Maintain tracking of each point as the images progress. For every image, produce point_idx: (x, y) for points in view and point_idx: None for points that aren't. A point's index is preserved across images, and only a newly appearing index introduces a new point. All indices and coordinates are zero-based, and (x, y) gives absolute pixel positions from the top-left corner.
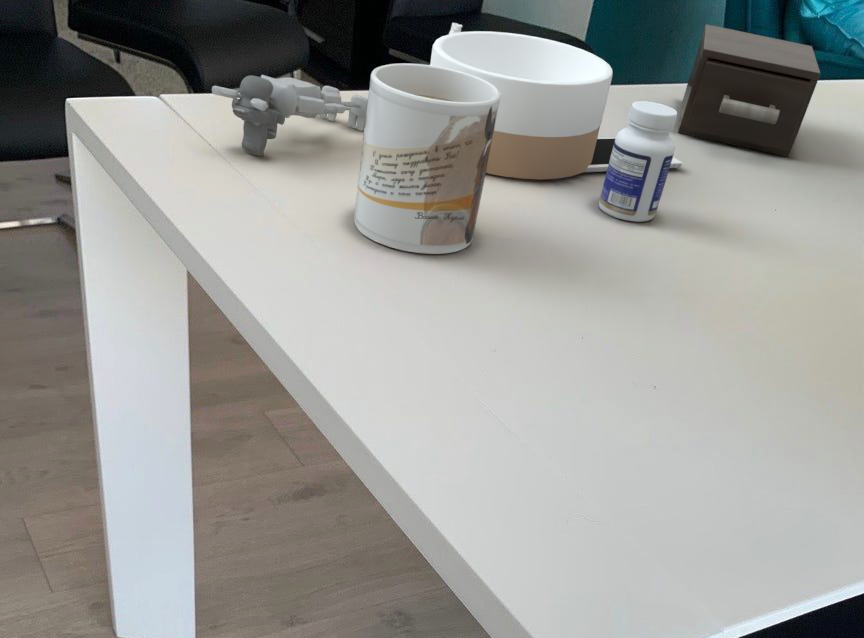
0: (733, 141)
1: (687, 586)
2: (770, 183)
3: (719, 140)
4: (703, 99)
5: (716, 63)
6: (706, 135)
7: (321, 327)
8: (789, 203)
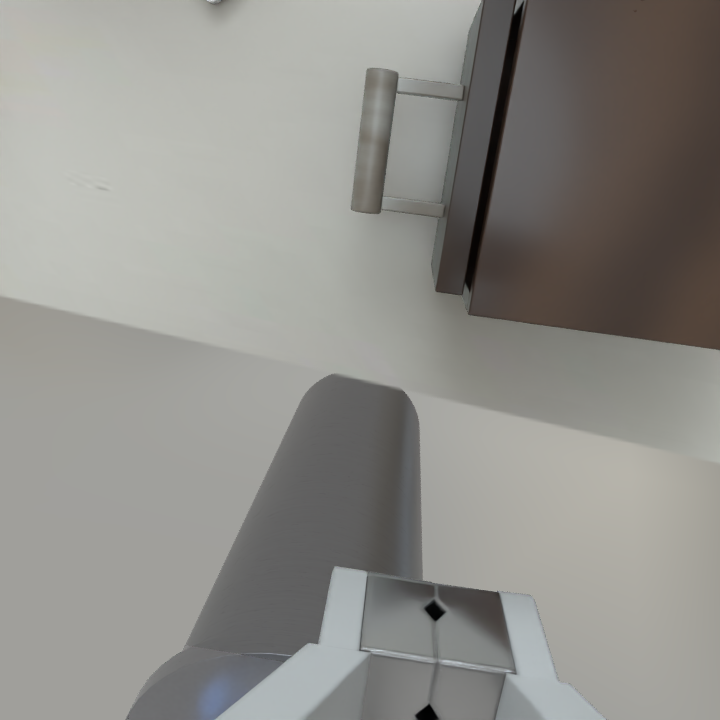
0: None
1: None
2: (254, 206)
3: None
4: (471, 38)
5: (488, 26)
6: None
7: None
8: (159, 224)
